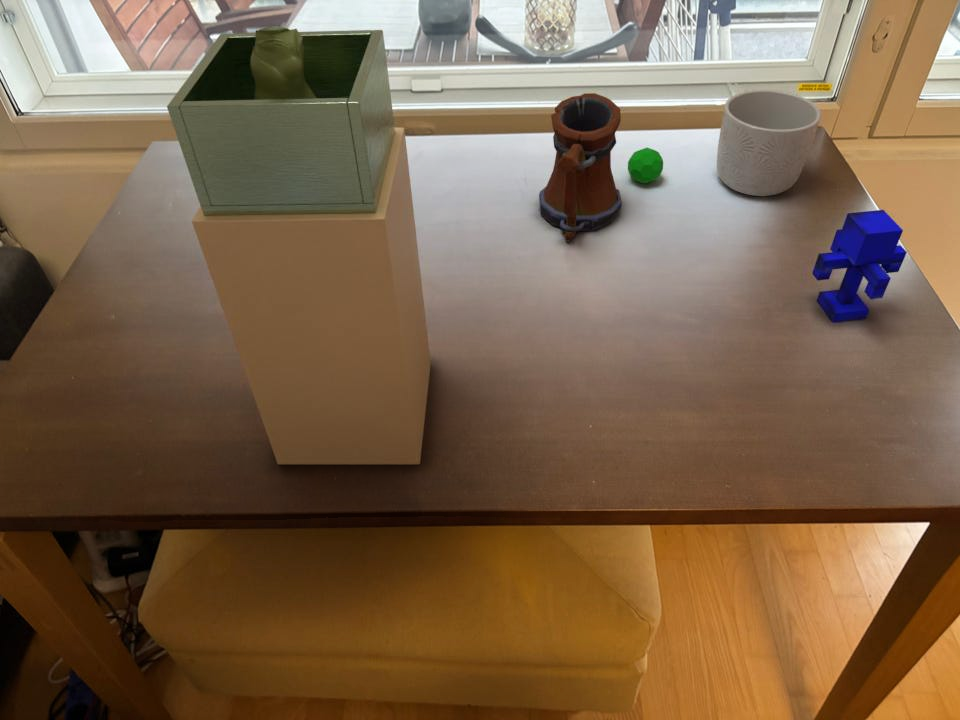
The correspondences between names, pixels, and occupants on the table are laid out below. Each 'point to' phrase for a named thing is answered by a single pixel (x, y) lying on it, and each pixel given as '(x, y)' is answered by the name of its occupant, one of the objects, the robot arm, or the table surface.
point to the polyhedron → (645, 165)
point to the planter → (765, 140)
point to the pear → (279, 65)
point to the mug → (582, 165)
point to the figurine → (859, 263)
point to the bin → (313, 246)
